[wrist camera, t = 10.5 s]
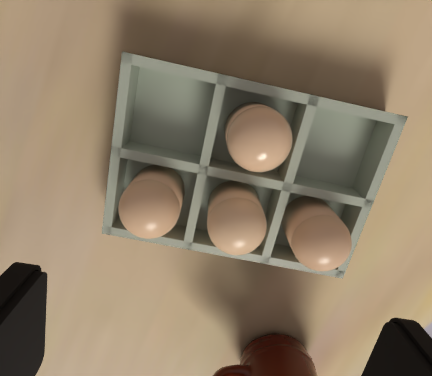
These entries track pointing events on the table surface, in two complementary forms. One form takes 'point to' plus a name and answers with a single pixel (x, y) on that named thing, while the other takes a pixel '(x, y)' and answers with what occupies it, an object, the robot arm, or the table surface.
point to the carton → (241, 169)
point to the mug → (272, 359)
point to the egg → (257, 137)
